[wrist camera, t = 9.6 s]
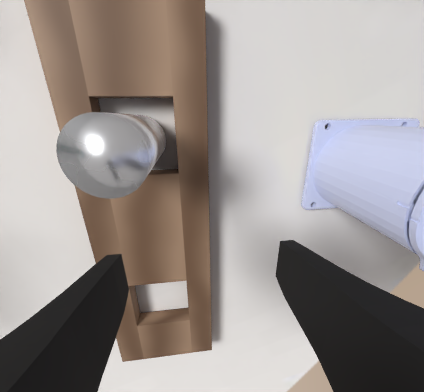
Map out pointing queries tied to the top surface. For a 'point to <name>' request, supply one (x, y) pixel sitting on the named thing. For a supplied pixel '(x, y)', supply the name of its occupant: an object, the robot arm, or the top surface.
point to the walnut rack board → (157, 179)
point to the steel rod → (109, 152)
